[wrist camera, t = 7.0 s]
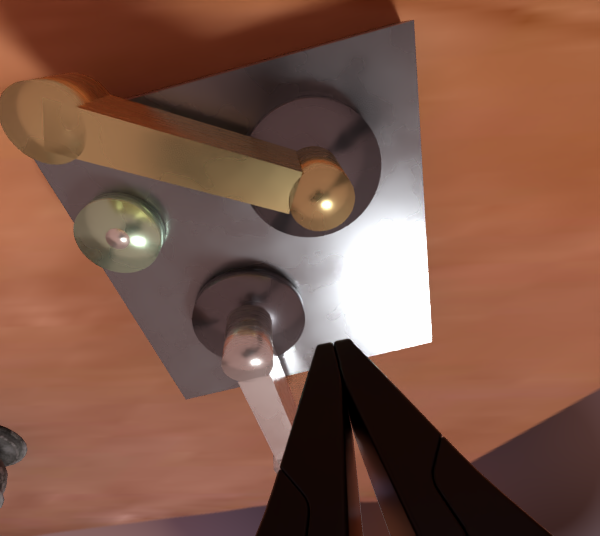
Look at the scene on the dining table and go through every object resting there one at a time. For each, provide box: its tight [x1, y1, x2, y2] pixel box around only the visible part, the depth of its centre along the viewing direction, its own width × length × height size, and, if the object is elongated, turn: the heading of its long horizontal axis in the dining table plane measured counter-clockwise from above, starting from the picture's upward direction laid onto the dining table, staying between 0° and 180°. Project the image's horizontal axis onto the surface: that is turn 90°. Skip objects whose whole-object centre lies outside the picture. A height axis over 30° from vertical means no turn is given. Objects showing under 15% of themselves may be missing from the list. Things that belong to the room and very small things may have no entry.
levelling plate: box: [34, 20, 432, 399], centre depth 19 cm, size 16×17×2 cm
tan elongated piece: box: [0, 73, 381, 237], centre depth 14 cm, size 13×6×4 cm, turn 72°
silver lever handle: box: [192, 268, 305, 473], centre depth 21 cm, size 13×6×4 cm, turn 13°
